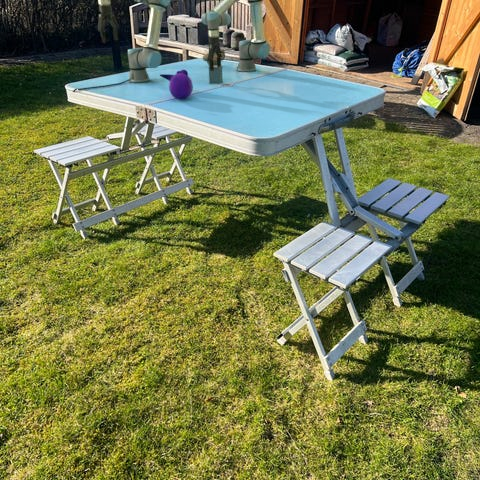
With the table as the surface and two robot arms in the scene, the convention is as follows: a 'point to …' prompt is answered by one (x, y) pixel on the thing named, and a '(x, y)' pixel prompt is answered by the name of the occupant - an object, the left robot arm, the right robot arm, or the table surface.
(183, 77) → the toy
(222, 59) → the teapot
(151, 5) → the left robot arm
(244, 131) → the table surface
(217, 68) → the block
